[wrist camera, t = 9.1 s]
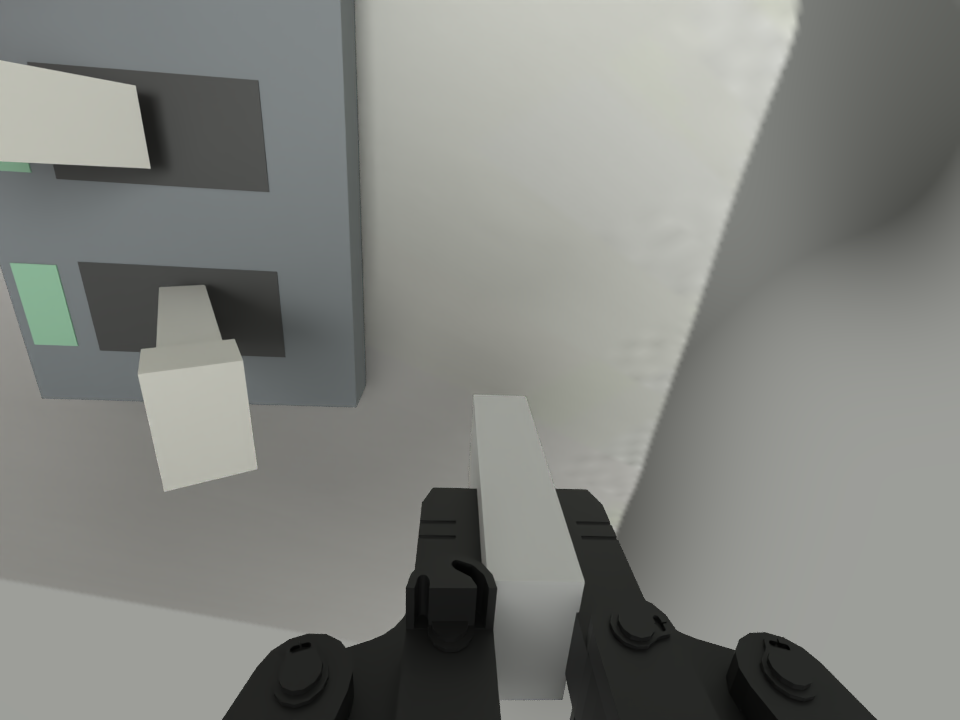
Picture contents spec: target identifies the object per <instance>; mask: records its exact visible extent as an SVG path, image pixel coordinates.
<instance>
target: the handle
mask: <svg viewBox="0 0 960 720" xmlns="http://www.w3.org/2000/svg"><path fill="white" fill-rule="evenodd" d="M0 161H3V162H23V163H44V164H65V165H86V166H106V167H127V168H148V169H151V167H150V162H149V156H148V151H147V145H146V140H145V134H144V129H143V123H142V118H141V112H140V107H139V101H138V96H137V91H136V86H135V85H130V84H124V83H119V82H114V81H108V80H103V79H98V78H93V77H87V76H82V75H77V74H71V73H66V72H61V71H55V70H50V69H45V68H39V67H34V66H29V65H23V64H18V63H13V62H7V61H2V60H0Z"/></svg>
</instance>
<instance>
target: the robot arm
mask: <svg viewBox="0 0 960 720" xmlns="http://www.w3.org/2000/svg"><path fill="white" fill-rule="evenodd" d="M566 681H567V685H568V690H569V694H570V699H571V703H572V712H571V717H570V720H877V719H876V718H875V717H874V716H873V715H872V714H871V713H870V712H869V711H868V710H867V709H866V708H865V707H864V706H863V705H862V704H861V703H860V702H859V701H858V700H857V699H856V698H855V697H854V696H853V695H852V694H851V693H850V692H849V691H848V690H847V689H846V688H845V687H844V686H843V685H842V684H841V683H840V682H839V681H838V680H837V679H836V678H835V677H834V676H833V675H832V674H831V673H830V672H829V671H828V670H827V669H826V668H825V667H824V666H823V665H822V664H821V663H820V662H819V661H818V660H817V659H815V658H814V657H813V656H812V655H811V654H809V653H808V652H807V651H806V650H805V649H803V648H802V647H800V646H798V645H796V644H794V643H793V642H791V641H789V640H787V639H785V638H783V637H780V636H776V635H773V634H769V633H765V632H763V633H749V634H747V635H746V636H744V637H743V638H741V639H740V640H739V642H738V645H737V647H736V650H732V649H729V648H725V647H722V646H719V645H716V644H712V643H709V642H705V641H702V640H698V639H695V638H693V637H690V636H688V635H685V634H683V633H681V632H679V631H677V630H676V629H675V627H674V626H673V625H672V623H671V622H670V620H669V619H668V617H667V616H666V615H665V614H664V613H663V612H662V611H660V610H659V609H658V608H657V607H656V606H654V605H653V604H652V603H650V602H648V601H646V600H645V599H644V597H643V595H642V593H641V591H640V588H639V586H638V584H637V581H636V579H635V577H634V575H633V572H632V570H631V568H630V566H629V563H628V561H627V559H626V557H625V555H624V552H623V550H622V548H621V546H620V544H619V541H618V540H617V539H616V534H615V532H614V530H613V528H612V525H610V521H609V519H608V516H607V514H606V512H605V510H604V508H603V505H602V504H601V503H600V502H599V501H598V500H597V499H596V498H595V497H594V496H593V495H592V494H591V493H590V492H589V491H588V490H583V489H555V487H554V484H553V480H552V477H551V474H550V471H549V468H548V465H547V462H546V458H545V455H544V452H543V449H542V446H541V443H540V439H539V436H538V433H537V430H536V427H535V424H534V421H533V417H532V414H531V411H530V408H529V405H528V402H527V399H526V396H510V395H482V394H474V395H473V411H472V427H471V443H470V459H469V488H432V490H431V491H430V492H429V494H428V495H427V497H426V498H425V499H424V501H423V502H422V509H421V518H420V527H419V538H418V546H417V555H416V564H415V570H414V571H413V572H412V573H411V575H410V578H409V581H408V584H407V586H406V614H405V616H404V617H403V619H402V620H401V621H400V622H399V623H398V624H397V625H396V626H395V627H394V628H392V629H391V630H390V631H388V632H387V633H385V634H384V635H382V636H379V637H377V638H375V639H372V640H370V641H367V642H364V643H360V644H357V645H354V646H351V647H348V648H345V646H344V645H343V644H342V642H341V641H339V640H337V639H335V638H333V637H331V636H329V635H327V634H305V635H302V636H299V637H296V638H292V639H289V640H288V641H286V642H285V643H283V644H281V645H280V646H278V647H277V648H275V649H274V650H272V651H271V652H270V653H269V654H268V655H267V656H266V658H265V659H264V660H263V661H262V662H261V663H260V664H259V665H258V667H257V668H256V670H255V671H254V672H253V674H252V675H251V677H250V678H249V680H248V682H247V683H246V684H245V686H244V687H243V689H242V690H241V692H240V694H239V695H238V697H237V698H236V699H235V701H234V703H233V704H232V706H231V707H230V709H229V710H228V712H227V713H226V715H225V716H224V718H223V719H222V720H501V715H500V705H499V704H500V703H499V700H562V699H563V694H564V689H565V683H566Z"/></svg>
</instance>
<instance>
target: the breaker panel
mask: <svg viewBox="0 0 960 720" xmlns="http://www.w3.org/2000/svg"><path fill="white" fill-rule="evenodd" d="M0 60H2V61H7V62H13V63H18V64H23V65H29V66H34V67H39V68H45V69H50V70H55V71H61V72H66V73H71V74H77V75H82V76H87V77H93V78H98V79H103V80H108V81H114V82H119V83H124V84H130V85H135V86H136V91H137V96H138V101H139V107H140V112H141V118H142V123H143V129H144V134H145V140H146V145H147V151H148V156H149V162H150V167H151V169H148V168H127V167H106V166H86V165H65V164H44V163H23V162H3V161H0V266H1V269H2V273H3V276H4V279H5V282H6V285H7V289H8V292H9V295H10V298H11V301H12V304H13V308H14V311H15V314H16V317H17V320H18V323H19V327H20V330H21V333H22V336H23V339H24V343H25V346H26V349H27V352H28V355H29V358H30V362H31V365H32V368H33V371H34V374H35V378H36V381H37V384H38V387H39V390H40V393H41V397H42V398H47V399H82V400H117V401H144V400H143V396H142V391H141V387H140V382H139V378H138V368H139V360H140V353H141V349H146V348H155V347H156V340H157V319H158V299H159V287H172V286H191V285H205V287H206V290H207V293H208V296H209V299H210V302H211V306H212V309H213V312H214V315H215V318H216V322H217V325H218V328H219V331H220V334H221V337H222V340H229V339H235V341H236V344H237V346H238V349H239V351H240V354H241V357H242V359H243V364H244V371H245V379H246V386H247V394H248V401H249V404H256V405H291V406H326V407H357V405H358V402H359V400H360V398H361V395H362V393H363V390H364V388H365V386H366V369H365V337H364V304H363V272H362V239H361V206H360V174H359V141H358V109H357V76H356V44H355V11H354V0H0Z"/></svg>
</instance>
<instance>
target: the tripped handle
mask: <svg viewBox="0 0 960 720" xmlns="http://www.w3.org/2000/svg"><path fill="white" fill-rule="evenodd" d="M138 378H139V382H140V387H141V391H142V396H143V400H144V404H145V409H146V413H147V418H148V422H149V427H150V431H151V435H152V440H153V444H154V449H155V453H156V458H157V462H158V466H159V471H160V475H161V480H162V484H163V488H164V492H166V491H170V490H174V489H179V488H183V487H187V486H191V485H195V484H199V483H203V482H207V481H211V480H215V479H220V478H224V477H228V476H232V475H236V474H240V473H244V472H248V471H252V470H257V469H258V468H257V461H256V453H255V446H254V439H253V431H252V424H251V416H250V409H249V401H248V394H247V386H246V379H245V371H244V364H243V359H242V357H241V354H240V351H239V349H238V346H237V344H236V341H235V339H229V340H222V337H221V334H220V331H219V328H218V325H217V322H216V318H215V315H214V312H213V309H212V306H211V302H210V299H209V296H208V293H207V290H206V287H205V285H191V286H172V287H159V299H158V319H157V340H156V347H155V348H146V349H141V353H140V360H139V368H138Z"/></svg>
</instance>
